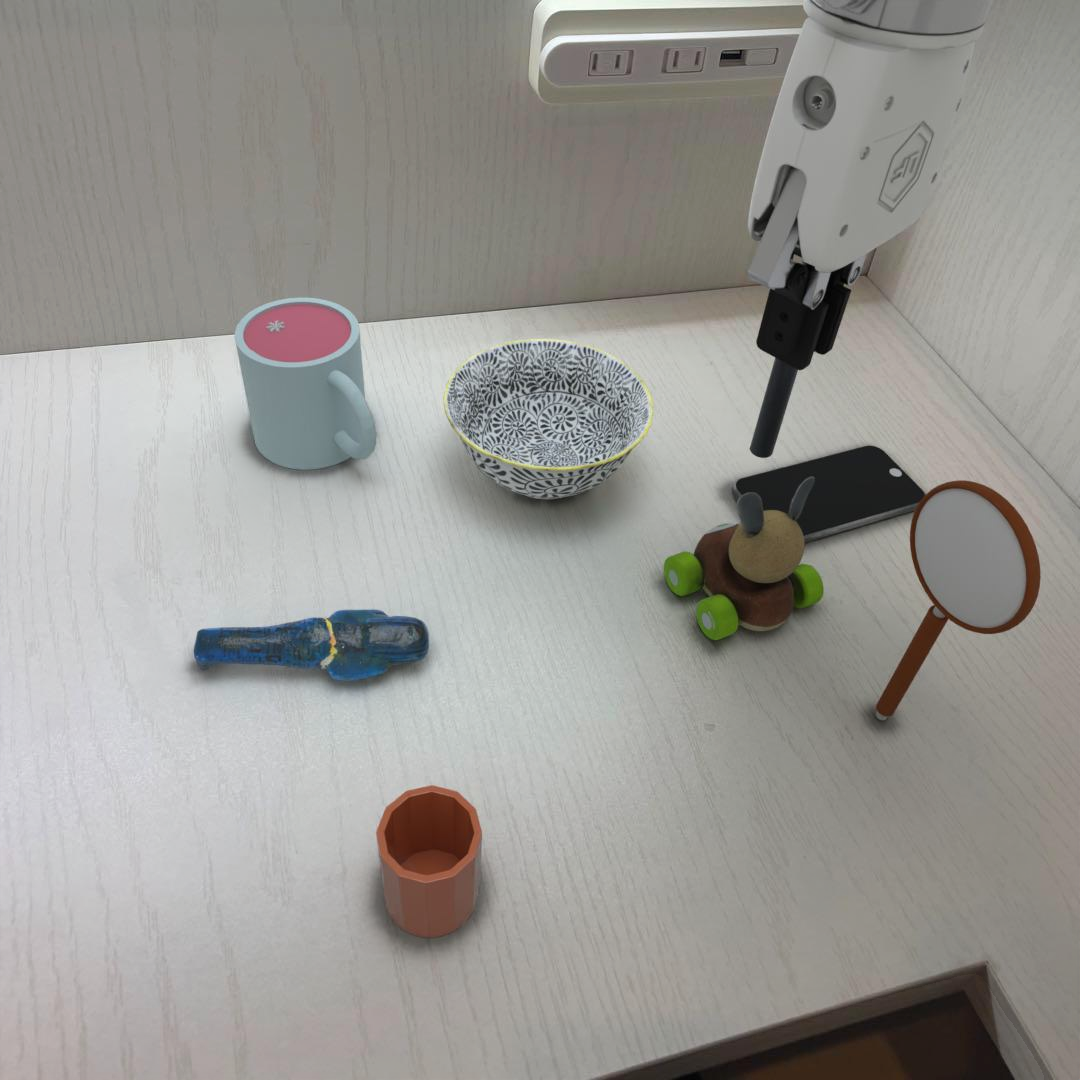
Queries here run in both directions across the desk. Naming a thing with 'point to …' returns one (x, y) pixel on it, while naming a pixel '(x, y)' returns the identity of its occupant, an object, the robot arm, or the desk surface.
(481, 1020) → the desk surface
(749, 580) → the toy car
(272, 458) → the mug
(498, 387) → the bowl
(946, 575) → the magnifying glass
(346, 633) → the figurine
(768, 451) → the stylus
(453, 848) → the pen pot
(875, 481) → the smartphone
